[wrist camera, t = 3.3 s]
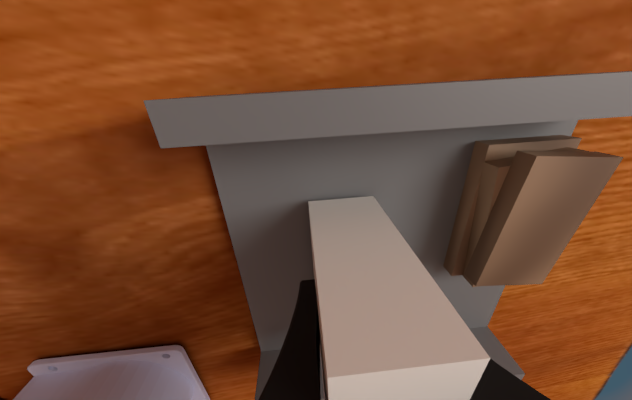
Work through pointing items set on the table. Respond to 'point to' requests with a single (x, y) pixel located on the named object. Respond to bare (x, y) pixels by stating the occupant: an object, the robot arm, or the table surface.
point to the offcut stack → (523, 207)
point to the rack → (366, 172)
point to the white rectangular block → (384, 312)
